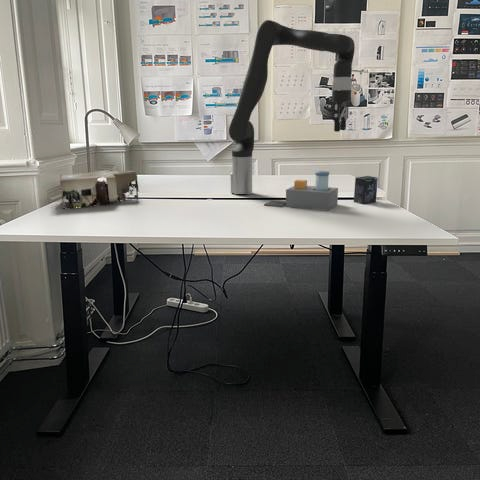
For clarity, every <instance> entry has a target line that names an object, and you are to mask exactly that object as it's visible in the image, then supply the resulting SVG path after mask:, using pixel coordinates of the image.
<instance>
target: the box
mask: <svg viewBox="0 0 480 480" xmlns="http://www.w3.org/2000/svg"><path fill="white" fill-rule="evenodd" d="M378 180H379V178H378V177H376V176H370V175H365V176H355V181H354V193H353V194H354V195H353V202H354V203H357V204H362V205H365V204H370V203H376V202H377V193H378V192H377V191H378Z"/></svg>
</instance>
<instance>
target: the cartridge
mask: <svg viewBox="0 0 480 480" xmlns="http://www.w3.org/2000/svg"><path fill="white" fill-rule="evenodd" d="M314 173H315V186H316V188H315V190H317V191H328V187H329V176H330V172H329V171H327V170H317V171H315V172H314Z"/></svg>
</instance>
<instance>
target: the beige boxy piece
mask: <svg viewBox="0 0 480 480" xmlns="http://www.w3.org/2000/svg"><path fill="white" fill-rule="evenodd" d="M99 178H100V179H101V178H103V180H102V181H101V180H98V179H99ZM104 179H105V180H106V181H105V180H104ZM132 182H134V183H132ZM59 186H60V194H61V200H62V203H61V204H62V209H63V208H71V209H72V208H73V209H77V208H76V207H83V208H91V207H90V206H92V207H95V206H94V205H101V206H108V205H111V203H114V202H115V203H116V202H121V200H122V201H125V200H127V198H129V196H132V197H133V198H134V199H137V200H138V199H139V193H138V192H139V191H140V190H139V183H138V174H137V173H136V170H118V171H115V170H114V171H92V172H76V173H61V174H60V179H59ZM134 190H135V192H136V193H135V194H134ZM127 193H129V195H126V194H127ZM133 194H134V195H133ZM64 199H66V201H68V206H65V205H66V202H65V200H64ZM129 199H130V198H129ZM130 200H132V198H131V199H130Z"/></svg>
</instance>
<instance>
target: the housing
mask: <svg viewBox="0 0 480 480" xmlns="http://www.w3.org/2000/svg"><path fill="white" fill-rule="evenodd" d="M315 188H316V185H315V186H314V185H313V186H312V185H307V188H305V189H295V188H294V186H291V187H288V188H286V189H285V202H286V205H285V207H289V208H296V209H297V208H298V209H308V210H317V211H318V210H320V211H330V210H332V209H333V208H334V207H335V208H336V206H338V203H339V202H338V200H339V198H338V196H339V195H338V194H339V187H333V186H332V187H329V186H328V191H317V190H315Z"/></svg>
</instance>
